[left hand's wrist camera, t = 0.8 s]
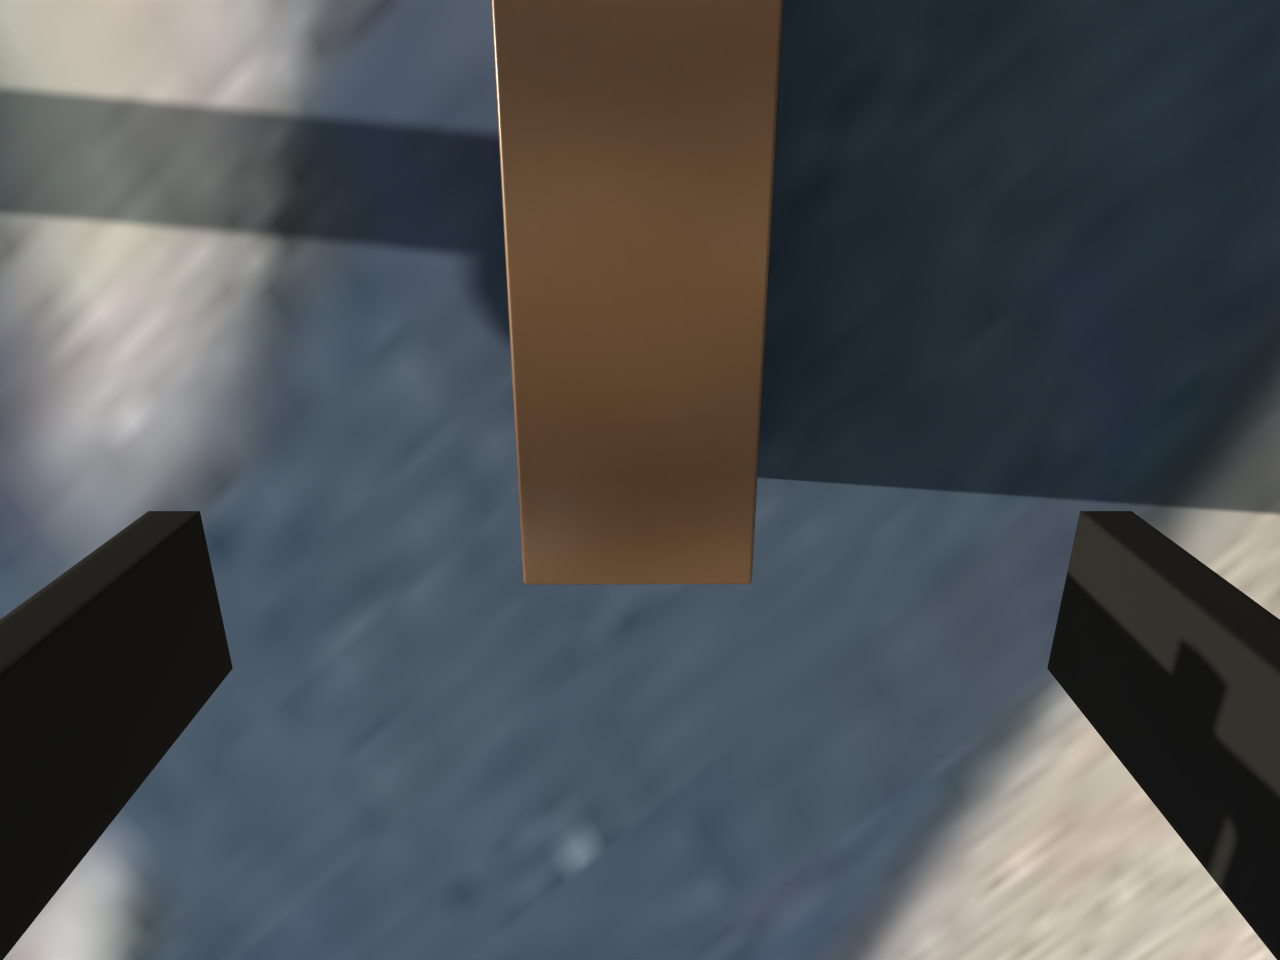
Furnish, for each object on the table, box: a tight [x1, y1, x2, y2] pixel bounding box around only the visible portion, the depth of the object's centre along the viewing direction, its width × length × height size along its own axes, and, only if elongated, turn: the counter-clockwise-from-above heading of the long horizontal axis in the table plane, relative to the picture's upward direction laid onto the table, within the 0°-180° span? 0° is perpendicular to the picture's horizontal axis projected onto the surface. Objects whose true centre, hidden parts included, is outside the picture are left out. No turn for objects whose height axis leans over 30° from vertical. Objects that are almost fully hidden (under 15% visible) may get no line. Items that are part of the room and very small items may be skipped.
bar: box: [491, 0, 783, 584], centre depth 20 cm, size 23×6×9 cm, turn 0°
